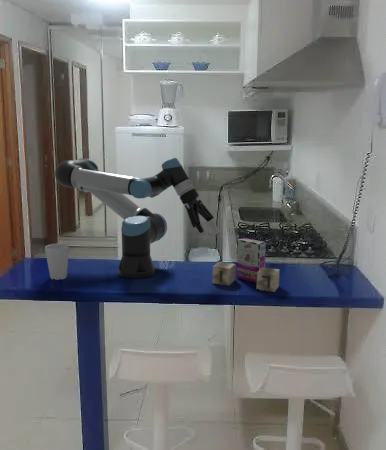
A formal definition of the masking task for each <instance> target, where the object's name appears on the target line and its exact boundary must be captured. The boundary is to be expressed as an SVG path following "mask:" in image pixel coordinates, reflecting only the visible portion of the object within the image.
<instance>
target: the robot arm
mask: <svg viewBox="0 0 386 450" xmlns="http://www.w3.org/2000/svg"><path fill="white" fill-rule="evenodd" d="M161 168H162V170H161V171H160V172H158V173H156V174H155V175H153V176H149V177H145V178H141V177H138V176H137V177H135V176H129V175H124V174H116V173H110V172H103V171H100V170H99V167H98V165H97V163H96V162H95V161H93V160H92V159H90V158H78V159H69V160H64V161H61V162H60V163H59V164H57V166H56V167H55V171H54V178H55V180H56V181H57V183H58V184H59V185H60V186H63V188H64V187H65V188H72V189H80V190H81V191H82V192H84V193H91V194H92V195H93V196H95V197H96V198H97V200H99V201H100V202H102V203H103V204H104V205H106V207H108V208H109V209H110V210H112V211H113V212H114V213H115V214H117V215H118V216H119V217H121V219H123V220H122V222H121V230H120V231H121V259H120V262H119V265H118V267H117V268H118V269H117V271H118V272H117V274H118V276H120V277H122V278H126V279H144V278H149V277H152V276H154V274H155V265H154V261H153V260H152V256H151V244H153V243H155V242H158V241H160V240H161V239H162V238H163V237H164V236H165V235H166V234H167V231H168V223H167V220H166V219H165V217H164V216H163V215H162V214H159V213H156V212H155V213H153V212H152V211H151V210H149V209H148V208H146V207H140V206H139V205H137V204H136V203H135V202H134V201H132V200H131V199H130V198H128V196H132V197H134V198H135V199H145V198H150V199H151V198H155V197H156V196H159V195H160V194H162V192H164V191H166V190H168V188H170V187H173V189H174V191H175V193H176V195H177V196H178V197H179V199H180V201H181V203H182V204H183V205H184V207H185V210H186V212H187V215H188V217H189V221H190V223H191V226H192V228H193V229H194V228H196V229H197V232H198V233H199V236H200V237H201V238H202V240H203V241H204V242H205V241H206V240H208V239H210V238H211V237H210V235H209V234H208V232H207V230H206V228H205V227H204V225H203V223H201V219H200V216H201V217H202V218H203V219H204V220H205V221H206V223H207V226H208V227H209V229H210V231H211V233H212V234H213V235H214V236H217V234H219V233H221V232H220V230H219V228H218V227H217V225H216V223H215V221H214V218H215V217H214V215H213V214H212V213H211V212H210V211H209V209H208V208H207V207H206V206H205V204H204V203H203V202H202V200H201V199H198V198H199V196H200V195H199V193H198V192H197V190H196V188H194V185H193V181H192V180H190V177H189V176H188V174H187V173H186V171H185V169H184V167H183V165H182V164H181V163H180V161H179V159H178V158H177V157H171V158H169V159H166V160H165V161H164V162H163V163H162V164H161ZM126 195H128V196H126Z"/></svg>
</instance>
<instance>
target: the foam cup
mask: <svg viewBox="0 0 386 450" xmlns="http://www.w3.org/2000/svg"><path fill="white" fill-rule="evenodd" d="M44 254H45V255H46V261H47V268H48V272H49V277H50V280H53V279H55V280H54V281H56V280H57V281H58V280H60V279H61V280H64V279H67V276H68V275H67V273H68V265H69V254H70V245H69V244H67V243H51V244H48V245H45V246H44Z"/></svg>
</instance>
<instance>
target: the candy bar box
mask: <svg viewBox="0 0 386 450" xmlns="http://www.w3.org/2000/svg"><path fill="white" fill-rule="evenodd" d="M266 250H267V241H262V240H256V239H252V238H245V237H243V238H239V239H237V246H236V272H235V279H239V280H241V281H246V282H250V283H254V284H257V272H258V271H259V270H260V269H261V268H262V267H264V268H266V253H267V251H266Z"/></svg>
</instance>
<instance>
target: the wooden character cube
mask: <svg viewBox="0 0 386 450" xmlns="http://www.w3.org/2000/svg"><path fill="white" fill-rule="evenodd" d="M235 280H236V263H231V262H223V261H218V262H217V263H215V264H214V265H212V284H216V285H223V286H230V285H232V284H233V283H234V282H235Z"/></svg>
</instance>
